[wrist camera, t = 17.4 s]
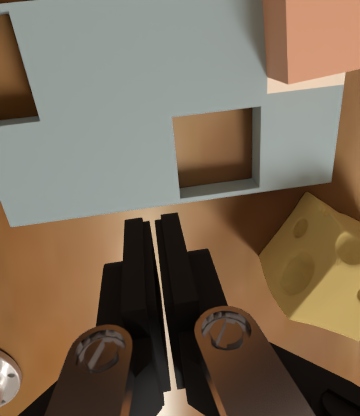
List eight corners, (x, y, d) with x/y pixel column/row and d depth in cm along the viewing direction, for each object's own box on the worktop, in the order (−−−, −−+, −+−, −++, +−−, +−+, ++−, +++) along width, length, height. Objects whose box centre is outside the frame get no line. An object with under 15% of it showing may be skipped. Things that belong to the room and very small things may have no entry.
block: (266, 77, 29) (288, 84, 25) (261, -20, 25) (284, -29, 22) (346, 59, 29) (379, 64, 25) (351, -39, 26) (390, -52, 22)
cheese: (304, 188, 37) (357, 236, 29) (371, 224, 41) (436, 277, 32) (251, 258, 41) (284, 320, 32) (316, 286, 45) (361, 348, 36)
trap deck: (18, 214, 35) (10, 227, 32) (-56, 12, 26) (-74, 10, 24) (319, 173, 37) (331, 182, 34) (341, -27, 28) (359, -32, 26)
